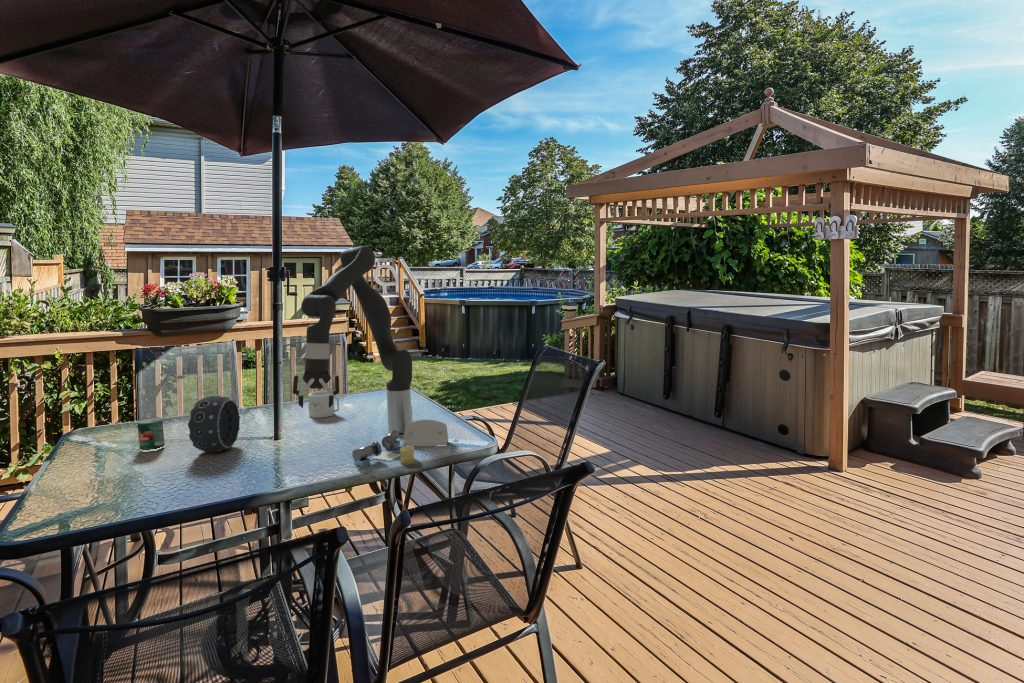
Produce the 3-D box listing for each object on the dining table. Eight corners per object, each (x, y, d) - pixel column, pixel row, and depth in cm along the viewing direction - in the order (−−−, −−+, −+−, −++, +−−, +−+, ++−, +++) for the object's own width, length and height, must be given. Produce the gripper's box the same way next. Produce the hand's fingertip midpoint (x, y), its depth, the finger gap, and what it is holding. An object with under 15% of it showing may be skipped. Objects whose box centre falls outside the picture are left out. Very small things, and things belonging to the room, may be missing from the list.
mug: (304, 418, 256) (303, 395, 255) (316, 411, 267) (315, 389, 265) (333, 419, 254) (332, 396, 252) (344, 412, 264) (343, 390, 263)
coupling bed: (382, 452, 210) (382, 451, 210) (401, 455, 207) (401, 454, 207) (371, 458, 204) (371, 457, 204) (390, 461, 201) (390, 460, 201)
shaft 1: (360, 468, 195) (359, 449, 194) (351, 465, 198) (350, 446, 197) (382, 461, 202) (381, 443, 201) (373, 458, 205) (372, 440, 204)
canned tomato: (136, 453, 212) (132, 423, 211) (145, 446, 220) (142, 417, 218) (159, 452, 214) (156, 422, 212) (168, 445, 221) (165, 416, 220)
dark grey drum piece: (244, 441, 225) (239, 390, 222) (219, 459, 205) (214, 403, 202) (215, 442, 224) (210, 390, 221) (188, 460, 204) (182, 404, 202)
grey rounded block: (402, 447, 216) (402, 419, 218) (404, 447, 221) (404, 420, 223) (447, 446, 216) (447, 418, 218) (448, 446, 221) (449, 419, 223)
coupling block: (400, 459, 204) (400, 446, 203) (414, 458, 204) (413, 446, 204) (400, 464, 199) (399, 451, 198) (414, 463, 200) (413, 450, 199)
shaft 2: (387, 445, 218) (387, 428, 217) (400, 445, 218) (400, 428, 217) (382, 453, 209) (381, 436, 208) (395, 453, 209) (394, 436, 208)
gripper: (339, 356, 196) (338, 405, 197) (294, 356, 192) (292, 405, 192) (340, 358, 189) (339, 408, 190) (293, 357, 185) (291, 409, 185)
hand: (315, 407), depth 191 cm, fingers open, 8 cm apart
